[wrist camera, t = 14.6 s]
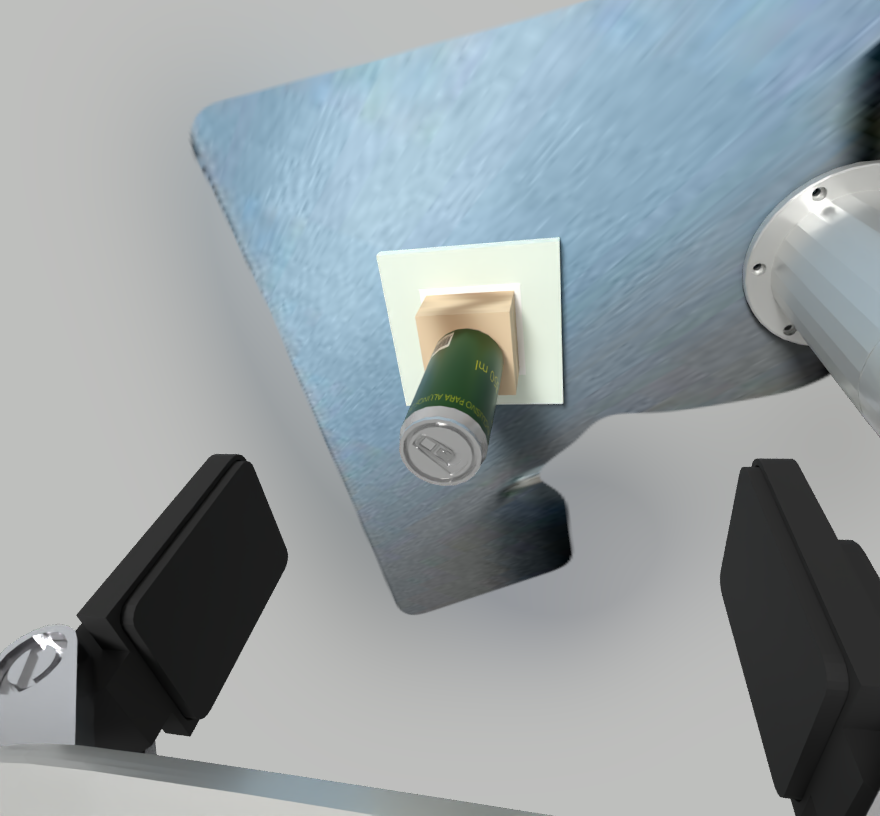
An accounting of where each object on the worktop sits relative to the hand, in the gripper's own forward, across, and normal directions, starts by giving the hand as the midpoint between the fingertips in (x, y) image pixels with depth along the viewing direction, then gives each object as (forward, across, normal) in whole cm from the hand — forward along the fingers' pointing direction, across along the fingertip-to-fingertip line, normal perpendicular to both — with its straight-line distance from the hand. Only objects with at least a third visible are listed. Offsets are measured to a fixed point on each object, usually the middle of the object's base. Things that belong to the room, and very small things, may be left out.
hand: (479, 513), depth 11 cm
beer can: (+29, +6, +12) cm, 32 cm away
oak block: (+33, +6, +12) cm, 36 cm away
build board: (+34, +6, +12) cm, 37 cm away
